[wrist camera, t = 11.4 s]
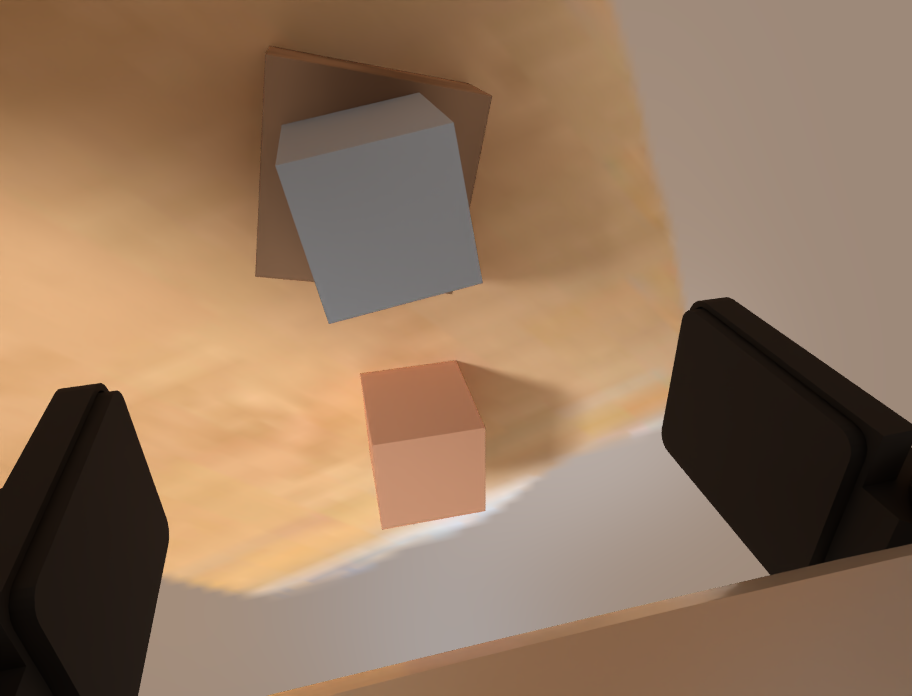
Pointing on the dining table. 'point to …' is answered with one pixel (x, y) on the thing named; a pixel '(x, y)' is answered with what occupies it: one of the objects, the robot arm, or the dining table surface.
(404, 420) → the terracotta block
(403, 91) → the walnut base
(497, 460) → the dining table surface
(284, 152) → the slate block
